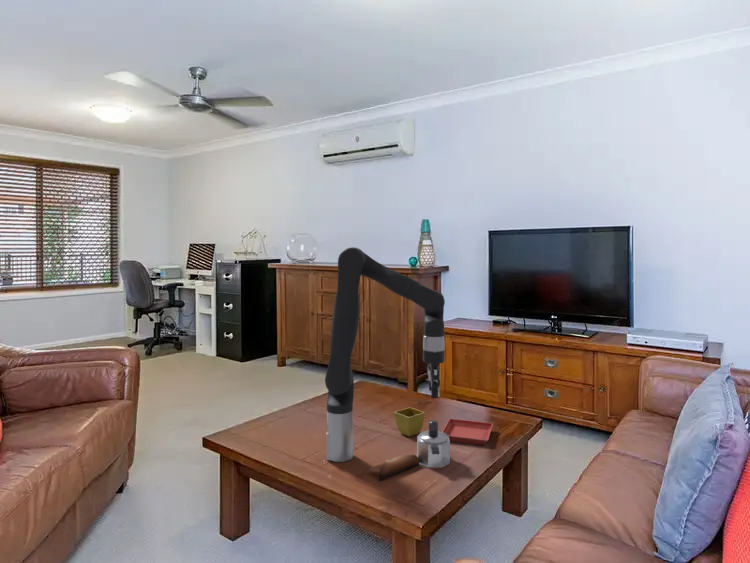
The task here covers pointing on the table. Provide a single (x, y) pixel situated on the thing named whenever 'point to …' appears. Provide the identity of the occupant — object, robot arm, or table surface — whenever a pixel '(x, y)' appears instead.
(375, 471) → the sunglasses case
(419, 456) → the pot
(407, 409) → the flower pot
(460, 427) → the plant saucer
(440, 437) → the lid
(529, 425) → the table surface
